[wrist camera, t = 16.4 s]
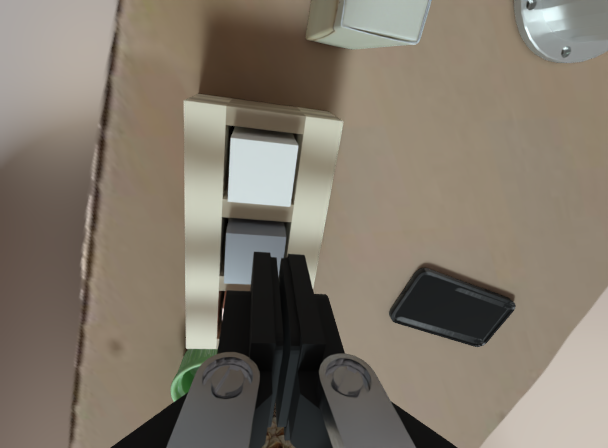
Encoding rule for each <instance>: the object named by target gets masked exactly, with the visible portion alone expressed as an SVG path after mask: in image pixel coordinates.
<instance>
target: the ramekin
mask: <svg viewBox="0 0 608 448" xmlns="http://www.w3.org/2000/svg"><path fill="white" fill-rule="evenodd" d="M217 351H218V349H188V350H187V352H186V353H185V355H184V357H183V360H182V363H181V365H180V368H179V370H178V373H177V374H176V376H175V378H174V380H173V382H172V385H171V396H172V399H173V401H174V402H175V401H176V400H178V399H179V398H180V397H182V396H183V395H185V394H186V393H187V392H189V389H190V387H191V384H192V382H193V379H194V376H195V374H196V372H197V370H198V368H199V367H200V365H201V364H202V363H203V362H204V361H206V360H207V359H208V358H210V357H212V356H214V355H216V354H217Z"/></svg>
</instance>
